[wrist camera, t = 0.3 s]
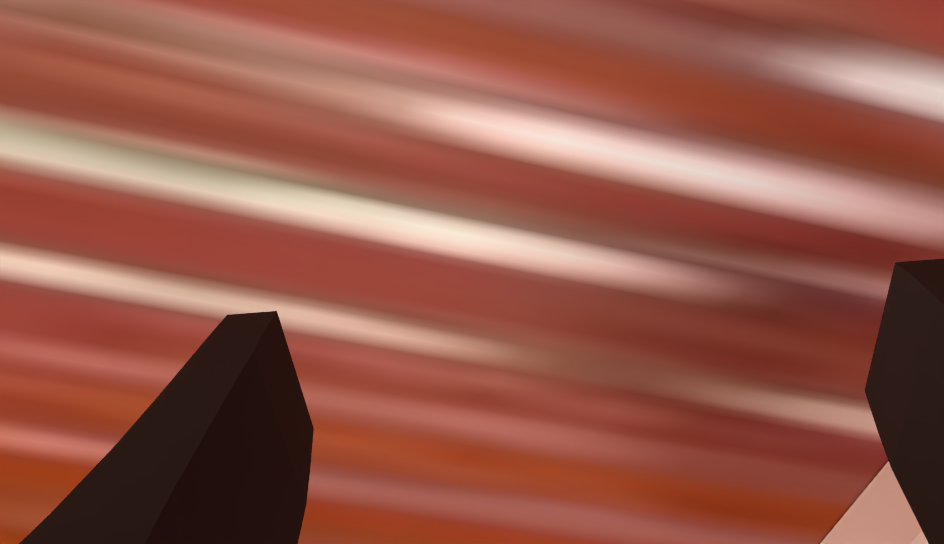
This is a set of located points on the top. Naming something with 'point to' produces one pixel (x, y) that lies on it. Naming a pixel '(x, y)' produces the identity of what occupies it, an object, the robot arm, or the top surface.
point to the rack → (878, 516)
